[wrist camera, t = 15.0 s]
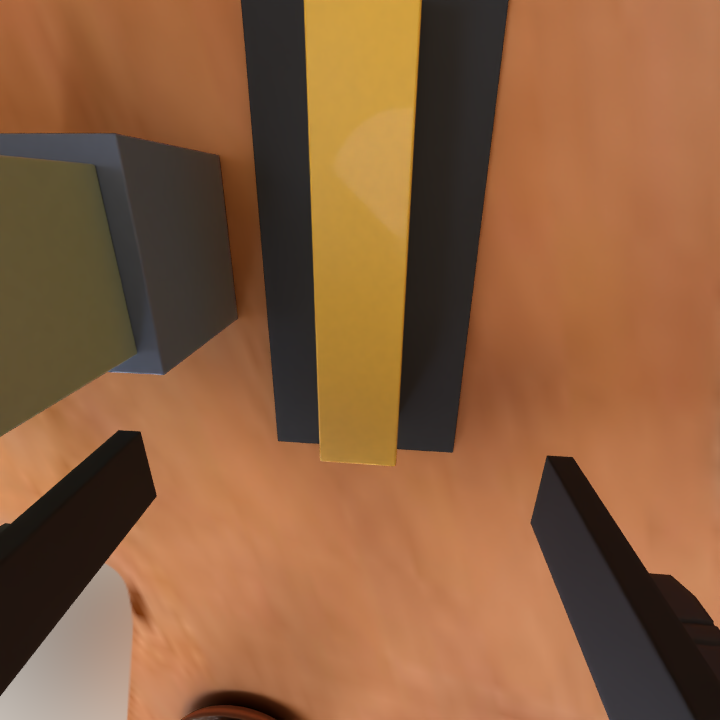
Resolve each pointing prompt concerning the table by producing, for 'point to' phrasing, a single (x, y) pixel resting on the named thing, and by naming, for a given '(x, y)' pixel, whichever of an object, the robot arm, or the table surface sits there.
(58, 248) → the tower
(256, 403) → the table surface
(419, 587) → the table surface
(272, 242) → the mat
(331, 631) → the table surface
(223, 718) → the cup and saucer
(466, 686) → the table surface
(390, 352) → the bar
